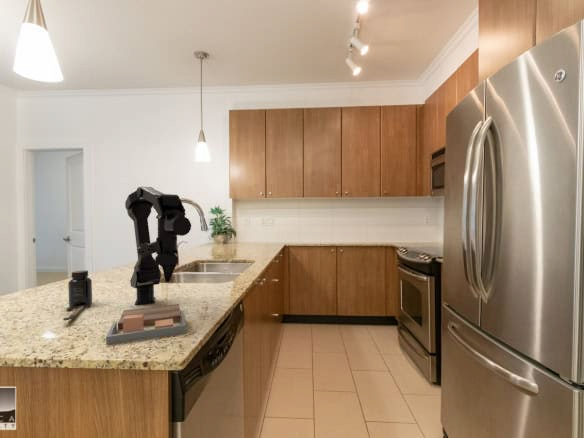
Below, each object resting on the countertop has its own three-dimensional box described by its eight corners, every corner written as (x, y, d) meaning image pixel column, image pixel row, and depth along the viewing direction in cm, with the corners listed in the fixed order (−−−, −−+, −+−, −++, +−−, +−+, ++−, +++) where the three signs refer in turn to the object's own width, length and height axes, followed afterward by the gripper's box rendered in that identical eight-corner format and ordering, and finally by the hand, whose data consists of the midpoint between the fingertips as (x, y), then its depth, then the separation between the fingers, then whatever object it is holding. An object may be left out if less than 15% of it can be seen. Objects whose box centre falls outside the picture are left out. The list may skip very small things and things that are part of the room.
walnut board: (123, 318, 91) (123, 310, 91) (179, 311, 97) (178, 303, 97) (117, 332, 80) (117, 323, 80) (180, 323, 86) (180, 315, 86)
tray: (113, 333, 79) (113, 322, 79) (184, 323, 86) (183, 313, 86) (106, 349, 70) (106, 336, 70) (186, 336, 77) (185, 325, 77)
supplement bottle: (96, 302, 108) (96, 269, 107) (81, 308, 101) (80, 273, 101) (80, 301, 109) (79, 269, 108) (63, 307, 102) (62, 273, 101)
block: (154, 326, 76) (154, 336, 76) (173, 324, 78) (173, 333, 78) (155, 321, 80) (155, 330, 80) (172, 318, 82) (172, 327, 82)
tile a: (125, 315, 79) (122, 319, 76) (143, 314, 80) (141, 317, 78) (125, 332, 79) (123, 336, 77) (143, 330, 80) (142, 333, 78)
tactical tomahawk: (68, 309, 100) (68, 306, 100) (91, 306, 103) (91, 303, 103) (43, 326, 81) (42, 322, 81) (72, 322, 83) (71, 318, 83)
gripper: (142, 231, 99) (142, 277, 100) (135, 236, 82) (135, 291, 83) (177, 231, 103) (177, 274, 104) (178, 235, 86) (178, 288, 87)
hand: (167, 281), depth 94 cm, fingers closed
